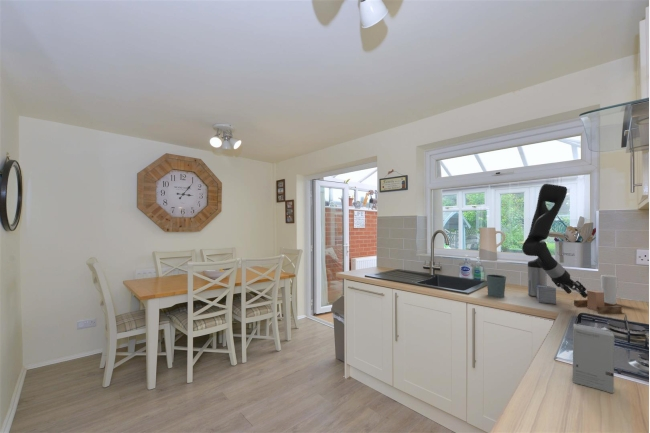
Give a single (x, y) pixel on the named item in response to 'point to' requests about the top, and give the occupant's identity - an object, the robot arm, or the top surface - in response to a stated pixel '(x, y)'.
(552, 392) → the top surface
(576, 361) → the grey upright rectangular block
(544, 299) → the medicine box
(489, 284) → the green plant pot
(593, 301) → the terracotta block
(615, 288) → the drinking glass
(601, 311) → the frame
